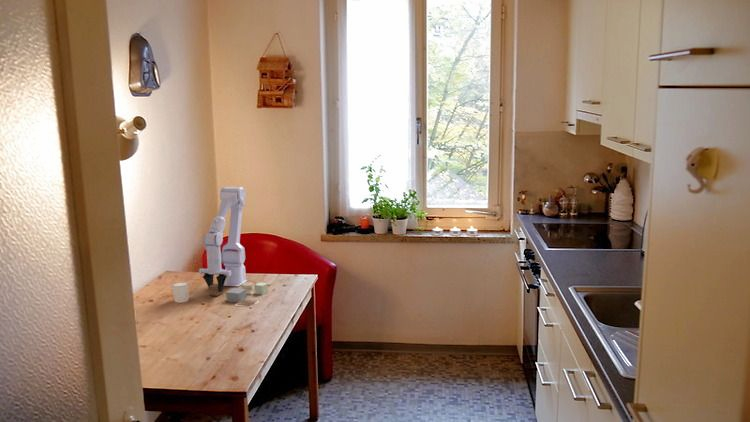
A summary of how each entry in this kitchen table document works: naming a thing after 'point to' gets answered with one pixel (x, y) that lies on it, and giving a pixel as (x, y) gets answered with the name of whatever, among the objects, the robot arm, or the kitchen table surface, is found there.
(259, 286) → the sage cube
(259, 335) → the kitchen table surface
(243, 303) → the swatch
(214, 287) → the walnut cube
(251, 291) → the birch cube
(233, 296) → the slate base
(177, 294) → the shot glass
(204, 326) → the kitchen table surface
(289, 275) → the kitchen table surface
